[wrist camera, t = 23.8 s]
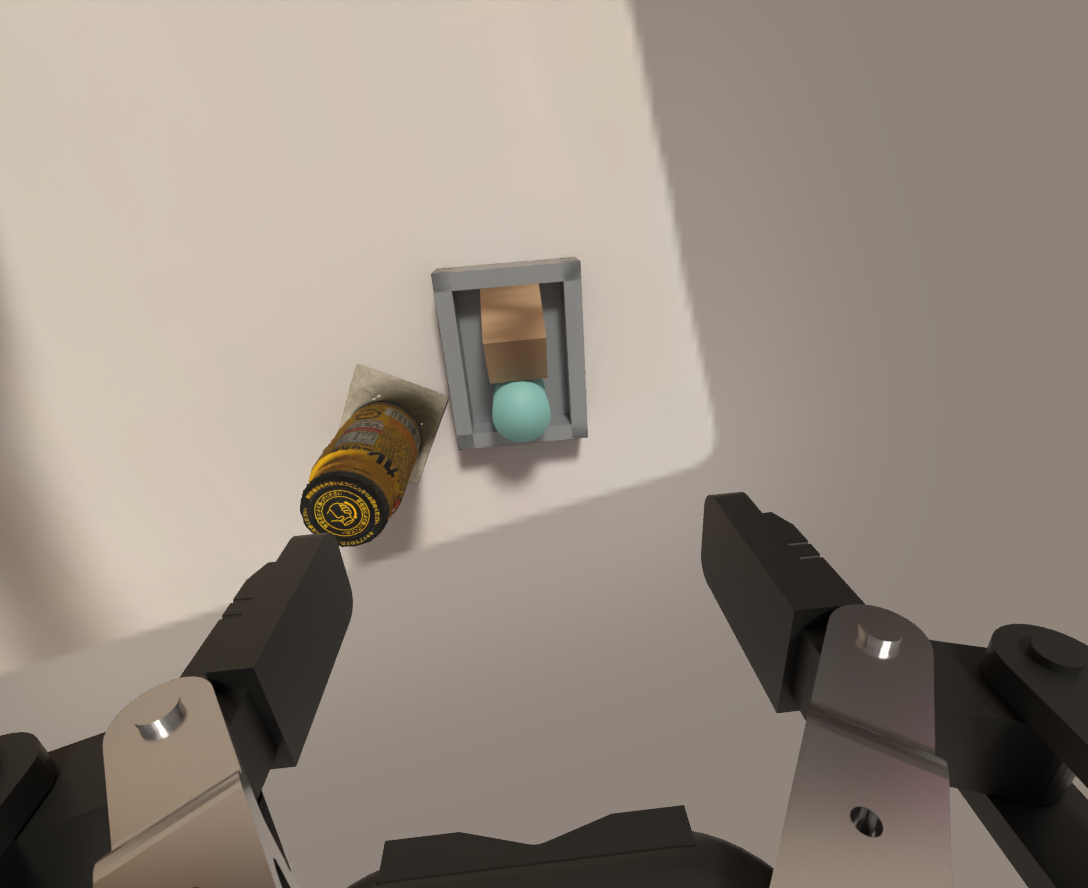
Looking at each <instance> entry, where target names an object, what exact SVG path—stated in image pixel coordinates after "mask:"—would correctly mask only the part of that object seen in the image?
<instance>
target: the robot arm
mask: <svg viewBox="0 0 1088 888" xmlns="http://www.w3.org/2000/svg"><path fill="white" fill-rule="evenodd" d="M701 561H702V568H703V573H704V576H705V579H706V582H707V584H708V586H709V587H710V589H711V591H712V593H713V595H714V597H715V598H716V600H717V602H718V604H719V606H720V608H721V610H722V612H723V614H724V615H725V617H726V619H727V621H728V623H729V625H730V626H731V628H732V630H733V632H734V634H735V636H736V638H737V639H738V642H739V643H740V645H741V647H742V649H743V651H744V652H745V655H746V656H747V658H748V660H749V662H750V664H751V666H752V668H753V669H754V671H755V673H756V675H757V677H758V679H759V680H760V682H761V684H762V686H763V688H764V690H765V692H766V694H767V695H768V697H769V699H770V701H771V703H772V705H773V707H774V708H775V710H776V712H777V713H783V712H791V711H801V713H802V715H803V717H804V719H805V720H806V724H805V728H804V733H803V738H802V742H801V747H800V751H799V756H798V760H797V765H796V769H795V774H794V779H793V783H792V787H791V792H790V797H789V801H788V806H787V810H786V815H785V820H784V824H783V829H782V833H781V838H780V842H779V847H778V852H777V856H776V861H775V865H774V868H772V867H771V866H769V865H768V864H767V863H765V862H764V861H763V860H761V859H760V858H758V857H756V856H754V855H753V854H751V853H749V852H748V851H746V850H744V849H743V848H741V847H738V846H736V845H734V844H732V843H729V842H727V841H725V840H723V839H720V838H717V837H713V836H710V835H707V834H704V833H698V832H694V831H691V827H690V824H689V820H688V817H687V814H686V810H685V807H684V805H681V806H673V807H665V808H656V809H648V810H640V811H631V812H623V813H615V814H610V815H608V816H605V817H603V818H601V819H599V820H596V821H594V822H591V823H589V824H587V825H585V826H582V827H580V828H578V829H575V830H573V831H571V832H568V833H566V834H564V835H561V836H559V837H557V838H554V839H552V840H550V841H547V842H545V843H542V844H537V845H530V844H523V843H518V842H512V841H507V840H501V839H495V838H490V837H484V836H479V835H473V834H467V833H461V832H457V833H449V834H440V835H431V836H423V837H415V838H406V839H398V840H390V841H385V844H384V850H383V855H382V861H381V866H380V870H378V871H376V872H374V873H372V874H370V875H368V876H366V877H364V878H362V879H361V880H359V881H357V882H355V883H354V884H352V885H350V886H349V887H348V888H953V870H952V844H951V818H950V817H951V815H950V788H949V787H954V788H958V790H959V791H960V792H961V794H962V795H963V797H964V798H965V799H966V800H967V802H968V804H969V805H970V806H971V808H972V809H973V811H974V812H975V813H976V815H977V816H978V818H979V819H980V820H981V822H982V823H983V824H984V826H985V827H986V829H987V830H988V832H989V833H990V834H991V836H992V837H993V839H994V840H995V841H996V843H997V844H998V845H999V847H1000V848H1001V850H1002V851H1003V853H1004V854H1005V855H1006V857H1007V858H1008V860H1009V861H1010V862H1011V864H1012V865H1013V867H1014V868H1015V870H1016V871H1017V872H1018V874H1019V875H1020V876H1021V878H1022V879H1023V881H1024V882H1025V884H1026V885H1027V886H1028V887H1029V888H1088V800H1087V799H1086V797H1085V796H1084V795H1083V794H1082V793H1081V792H1080V791H1079V790H1078V789H1077V788H1076V786H1075V785H1073V783H1072V781H1073V779H1074V778H1075V776H1077V777H1078V778H1079V779H1080V780H1081V782H1082V783H1083V784H1084V785H1085V786H1086V787H1087V788H1088V646H1087V645H1085V644H1084V643H1082V642H1080V641H1078V640H1076V639H1074V638H1072V637H1069V636H1067V635H1065V634H1062V633H1059V632H1057V631H1054V630H1051V629H1047V628H1043V627H1039V626H1034V625H1027V624H1010V625H1005V626H1002V627H1000V628H998V629H996V630H995V632H994V633H993V635H992V637H991V640H990V642H989V645H988V647H987V648H984V647H976V646H969V645H962V644H955V643H947V642H940V641H933V640H929V639H928V637H927V636H926V635H925V633H923V631H922V630H921V629H920V628H918V627H917V626H916V625H915V624H914V623H912V622H911V621H909V620H908V619H906V618H904V617H902V616H901V615H899V614H897V613H894V612H892V611H890V610H887V609H884V608H881V607H876V606H872V605H865V603H864V602H863V601H862V600H861V599H860V598H859V597H858V596H857V595H856V594H855V592H854V591H853V590H852V589H851V588H850V587H849V586H848V585H847V584H846V582H845V581H844V580H843V579H842V578H841V577H840V576H839V575H838V574H837V573H836V571H835V570H834V569H833V568H832V567H831V566H830V565H829V564H828V563H827V561H826V560H825V559H824V558H823V557H822V558H821V557H820V554H819V553H818V551H817V550H816V549H815V548H814V547H813V546H812V545H811V544H808V540H807V539H806V538H805V537H804V536H803V535H802V534H801V533H800V532H799V530H798V529H797V528H796V527H795V526H794V525H793V524H791V523H789V522H788V521H786V520H784V519H782V518H781V517H779V516H777V515H776V514H774V513H772V512H769V513H762V512H761V511H760V510H759V509H758V508H757V506H756V505H755V504H754V503H753V502H752V500H751V499H750V498H749V497H748V496H747V495H746V494H745V493H744V492H737V493H726V494H718V495H708V496H707V497H706V500H705V504H704V518H703V533H702V548H701ZM352 608H353V598H352V591H351V587H350V583H349V580H348V576H347V573H346V570H345V566H344V563H343V559H342V556H341V553H340V549H339V546H338V543H337V540H336V538H335V536H334V535H333V534H332V533H321V534H311V535H301V536H294V537H292V538H291V539H290V541H289V542H288V544H287V545H286V547H285V548H284V550H283V552H282V553H281V555H280V556H279V558H278V559H277V561H276V562H269V563H267V564H266V565H264V566H263V567H262V568H261V569H260V570H258V571H257V572H256V573H255V574H253V575H252V576H251V577H250V578H249V579H247V580H246V582H245V583H244V584H243V586H242V587H241V589H240V590H239V592H238V593H237V595H236V596H235V598H234V599H233V603H230V605H229V606H228V608H227V609H226V611H225V612H224V614H223V615H222V620H219V621H218V622H217V624H216V625H215V627H214V628H213V630H212V631H211V633H210V634H209V636H208V637H207V638H206V640H205V641H204V643H203V644H202V646H201V647H200V649H199V650H198V651H197V653H196V654H195V656H194V657H193V659H192V660H191V662H190V663H189V665H188V666H187V667H186V669H185V670H184V672H183V673H182V675H181V676H180V678H177V679H173V680H170V681H168V682H165V683H162V684H160V685H158V686H156V687H154V688H152V689H150V690H148V691H147V692H145V693H143V694H142V695H140V696H139V697H137V698H136V699H135V700H133V701H132V702H131V703H130V704H128V705H127V706H126V707H125V708H124V709H123V710H122V711H121V712H120V713H119V714H118V715H117V716H116V717H115V718H114V720H113V721H112V723H111V724H110V726H109V727H108V729H107V731H106V732H104V733H101V734H99V735H96V736H93V737H90V738H87V739H84V740H82V741H79V742H76V743H73V744H70V745H68V746H65V747H62V748H59V749H56V750H53V751H50V752H47V751H46V749H45V748H44V747H43V745H42V744H41V743H40V741H39V740H38V738H37V737H35V736H34V735H33V734H30V733H24V732H19V733H10V734H6V735H2V736H0V888H300V886H299V883H298V881H297V878H296V876H295V873H294V870H293V867H292V865H291V862H290V859H289V857H288V854H287V851H286V849H285V846H284V843H283V840H282V838H281V835H280V832H279V830H278V827H277V824H276V822H275V819H274V816H273V814H272V811H271V809H270V806H269V803H268V800H267V798H266V796H265V793H264V791H263V789H262V787H263V785H264V783H265V780H266V778H267V775H268V773H269V770H270V769H277V768H286V767H294V766H296V765H297V763H298V760H299V757H300V754H301V752H302V749H303V746H304V744H305V741H306V738H307V736H308V733H309V730H310V727H311V724H312V722H313V719H314V716H315V714H316V711H317V708H318V706H319V703H320V701H321V698H322V695H323V692H324V690H325V687H326V684H327V682H328V679H329V676H330V674H331V671H332V668H333V665H334V663H335V660H336V657H337V655H338V652H339V649H340V647H341V644H342V641H343V639H344V636H345V633H346V630H347V628H348V625H349V622H350V619H351V615H352Z"/></svg>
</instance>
